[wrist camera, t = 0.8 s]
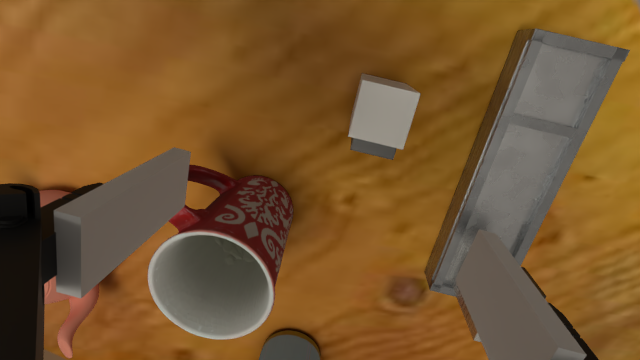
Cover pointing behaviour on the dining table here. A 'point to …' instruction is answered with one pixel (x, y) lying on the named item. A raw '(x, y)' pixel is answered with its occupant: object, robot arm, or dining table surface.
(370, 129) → the small grey block
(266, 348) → the bottle
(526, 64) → the rail
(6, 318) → the robot arm
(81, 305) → the teapot
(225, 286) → the mug
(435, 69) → the dining table surface
